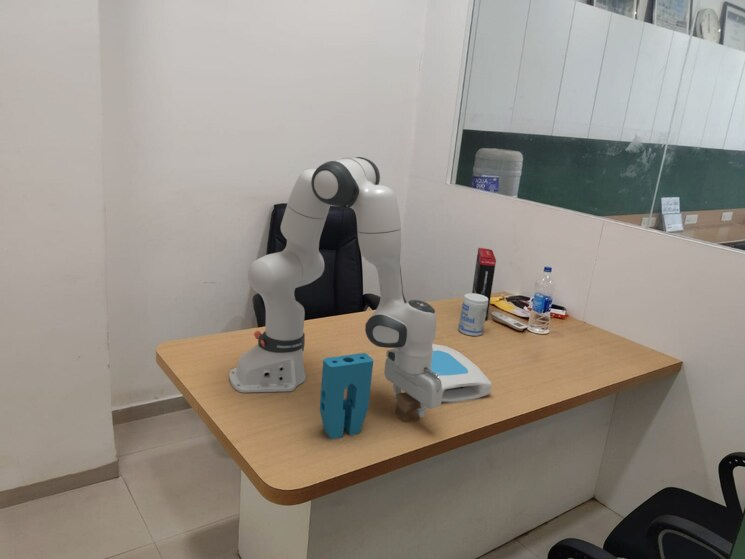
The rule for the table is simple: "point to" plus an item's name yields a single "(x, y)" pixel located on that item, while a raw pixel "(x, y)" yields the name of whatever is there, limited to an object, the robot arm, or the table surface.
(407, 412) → the walnut block
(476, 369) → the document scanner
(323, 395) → the block
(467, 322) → the supplement tub
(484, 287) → the graphics card box
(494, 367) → the table surface
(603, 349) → the table surface
